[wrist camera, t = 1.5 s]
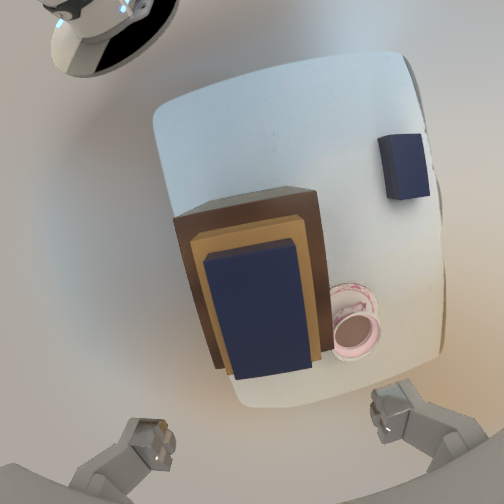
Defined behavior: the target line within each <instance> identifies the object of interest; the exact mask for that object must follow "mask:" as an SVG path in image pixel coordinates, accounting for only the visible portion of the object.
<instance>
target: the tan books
mask: <svg viewBox="0 0 504 504" xmlns="http://www.w3.org/2000/svg"><path fill="white" fill-rule="evenodd" d="M286 238H292V240H293V242H294V243H295V245H296V250H297V256H298V263H299V269H300V276H301V283H302V290H303V297H304V304H305V312H306V319H307V327H308V335H309V343H310V352H311V361H317V360H321V349H320V338H319V328H318V319H317V310H316V302H315V293H314V286H313V278H312V270H311V263H310V256H309V249H308V243H307V236H306V230H305V223H304V219H302V218H301V217H300V216H298V215H297V214H294V215H289V216H283V217H278V218H273V219H267V220H262V221H257V222H251V223H246V224H241V225H236V226H231V227H226V228H221V229H216V230H211V231H206V232H201V233H199V234H197V235H196V236H195V237H194V238H193V239H192V240H191V241H190V244H191V248H192V252H193V256H194V260H195V264H196V268H197V272H198V275H199V279H200V283H201V287H202V290H203V294H204V298H205V301H206V305H207V309H208V312H209V316H210V319H211V323H212V326H213V330H214V333H215V336H216V340H217V343H218V346H219V350H220V353H221V356H222V359H223V362H224V366H225V369H226V372H227V375H233V374H234V373H233V370H232V367H231V363H230V360H229V357H228V353H227V350H226V346H225V343H224V339H223V336H222V332H221V329H220V325H219V322H218V318H217V315H216V311H215V307H214V304H213V300H212V296H211V292H210V288H209V285H208V281H207V277H206V273H205V269H204V265H203V261H204V259H205V258H206V256H207V254H208V253H212V252H217V251H223V250H228V249H233V248H238V247H244V246H249V245H254V244H259V243H265V242H270V241H275V240H281V239H286Z"/></svg>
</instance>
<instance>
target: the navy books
mask: <svg viewBox="0 0 504 504" xmlns="http://www.w3.org/2000/svg"><path fill="white" fill-rule="evenodd" d="M378 142H379V147H380V152H381V158H382V164H383V170H384V177H385V184H386V191H387V198H390V199H396V200H404V199H411V198H418V197H425V196H430V191H429V182H428V174H427V166H426V160H425V154H424V148H423V142H422V137H421V134H395V135H387V136H384V137H380V138H378Z"/></svg>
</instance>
